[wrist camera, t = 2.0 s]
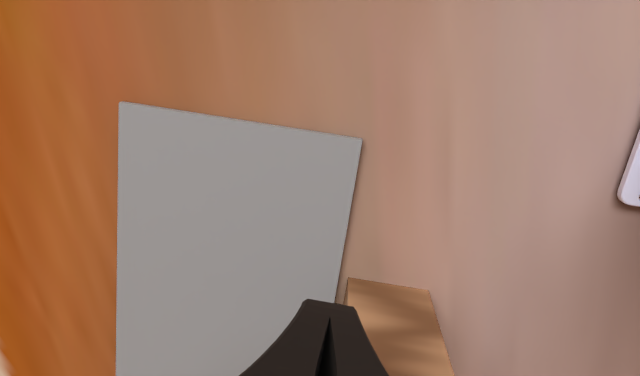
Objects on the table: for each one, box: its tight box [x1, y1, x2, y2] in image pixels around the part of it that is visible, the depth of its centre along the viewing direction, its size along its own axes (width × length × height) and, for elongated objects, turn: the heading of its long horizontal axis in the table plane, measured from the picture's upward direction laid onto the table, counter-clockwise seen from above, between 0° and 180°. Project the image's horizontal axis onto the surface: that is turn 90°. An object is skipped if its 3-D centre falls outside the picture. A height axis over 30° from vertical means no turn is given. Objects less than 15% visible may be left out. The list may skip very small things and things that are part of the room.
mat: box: [116, 101, 362, 376], centre depth 24 cm, size 11×20×1 cm, turn 172°
